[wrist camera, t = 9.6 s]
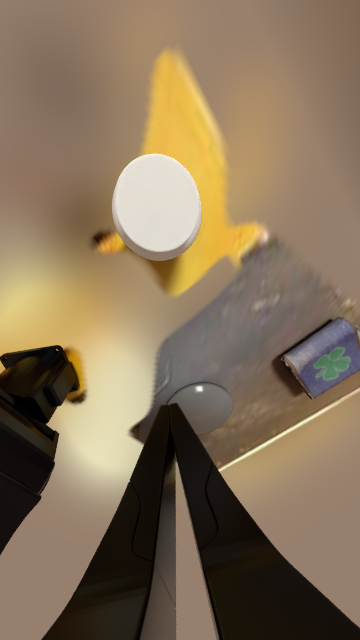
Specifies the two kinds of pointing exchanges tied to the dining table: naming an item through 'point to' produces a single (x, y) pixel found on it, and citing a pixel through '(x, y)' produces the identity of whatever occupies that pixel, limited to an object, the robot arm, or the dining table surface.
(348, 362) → the flask
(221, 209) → the dining table surface
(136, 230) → the supplement bottle
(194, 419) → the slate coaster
